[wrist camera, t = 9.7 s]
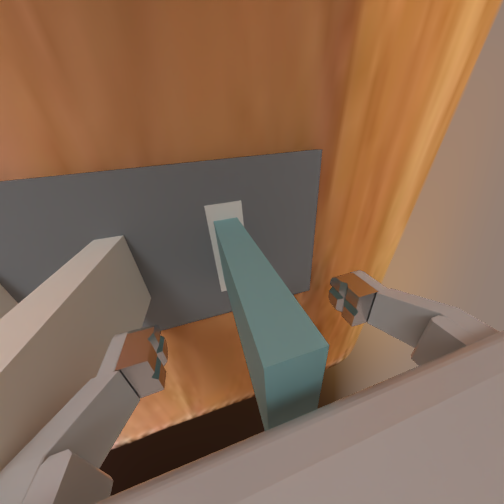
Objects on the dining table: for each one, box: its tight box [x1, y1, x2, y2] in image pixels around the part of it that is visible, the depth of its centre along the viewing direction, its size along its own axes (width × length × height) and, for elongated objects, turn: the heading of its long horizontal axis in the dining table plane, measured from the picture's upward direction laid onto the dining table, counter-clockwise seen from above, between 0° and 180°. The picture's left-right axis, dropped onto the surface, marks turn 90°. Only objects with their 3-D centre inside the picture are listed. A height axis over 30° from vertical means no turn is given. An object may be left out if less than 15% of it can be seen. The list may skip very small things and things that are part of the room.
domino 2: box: [213, 217, 329, 431], centre depth 10 cm, size 2×5×10 cm, turn 5°
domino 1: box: [0, 235, 151, 471], centre depth 8 cm, size 2×5×10 cm, turn 5°
